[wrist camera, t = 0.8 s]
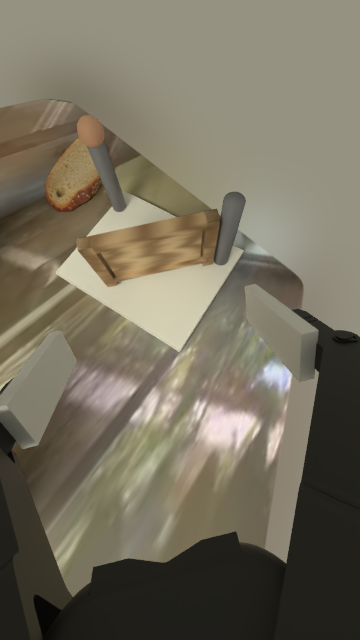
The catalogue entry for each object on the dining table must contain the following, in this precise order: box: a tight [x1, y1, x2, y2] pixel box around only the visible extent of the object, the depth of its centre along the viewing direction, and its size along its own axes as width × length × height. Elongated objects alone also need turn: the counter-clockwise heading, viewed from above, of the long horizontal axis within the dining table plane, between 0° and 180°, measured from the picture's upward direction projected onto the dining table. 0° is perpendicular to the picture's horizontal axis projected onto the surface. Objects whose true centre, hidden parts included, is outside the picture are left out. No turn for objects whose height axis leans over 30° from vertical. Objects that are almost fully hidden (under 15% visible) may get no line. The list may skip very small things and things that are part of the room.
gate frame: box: [56, 115, 246, 352], centre depth 38 cm, size 30×24×18 cm
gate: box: [77, 209, 221, 287], centre depth 39 cm, size 21×2×12 cm, turn 102°
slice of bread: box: [45, 138, 102, 212], centre depth 54 cm, size 18×18×4 cm
